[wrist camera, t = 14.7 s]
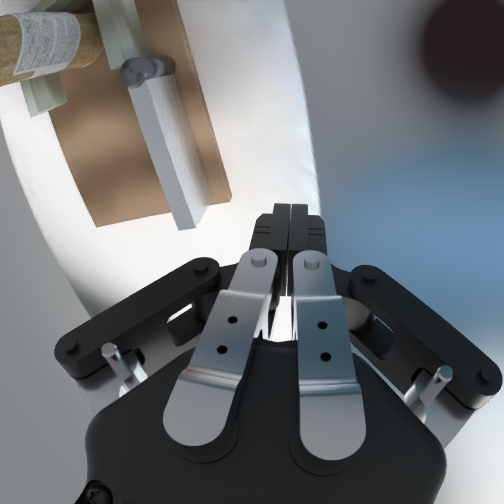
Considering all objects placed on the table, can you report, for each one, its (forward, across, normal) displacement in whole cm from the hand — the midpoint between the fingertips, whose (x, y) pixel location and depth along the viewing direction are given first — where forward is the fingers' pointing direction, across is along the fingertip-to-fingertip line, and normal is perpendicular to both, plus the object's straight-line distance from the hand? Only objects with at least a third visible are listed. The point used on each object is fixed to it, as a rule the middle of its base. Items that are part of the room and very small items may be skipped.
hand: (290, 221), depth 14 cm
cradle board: (+8, +13, -6) cm, 16 cm away
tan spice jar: (+8, +14, -11) cm, 20 cm away
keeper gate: (+7, +7, -3) cm, 11 cm away
